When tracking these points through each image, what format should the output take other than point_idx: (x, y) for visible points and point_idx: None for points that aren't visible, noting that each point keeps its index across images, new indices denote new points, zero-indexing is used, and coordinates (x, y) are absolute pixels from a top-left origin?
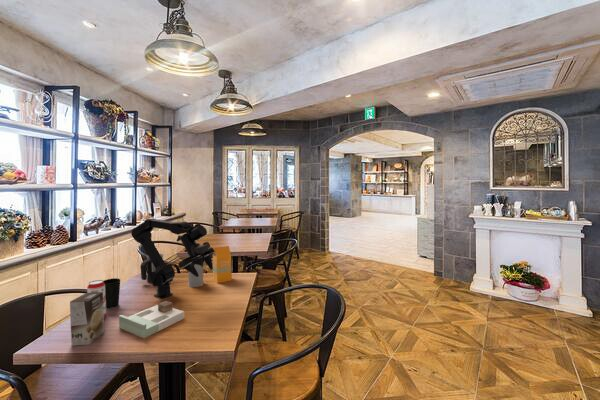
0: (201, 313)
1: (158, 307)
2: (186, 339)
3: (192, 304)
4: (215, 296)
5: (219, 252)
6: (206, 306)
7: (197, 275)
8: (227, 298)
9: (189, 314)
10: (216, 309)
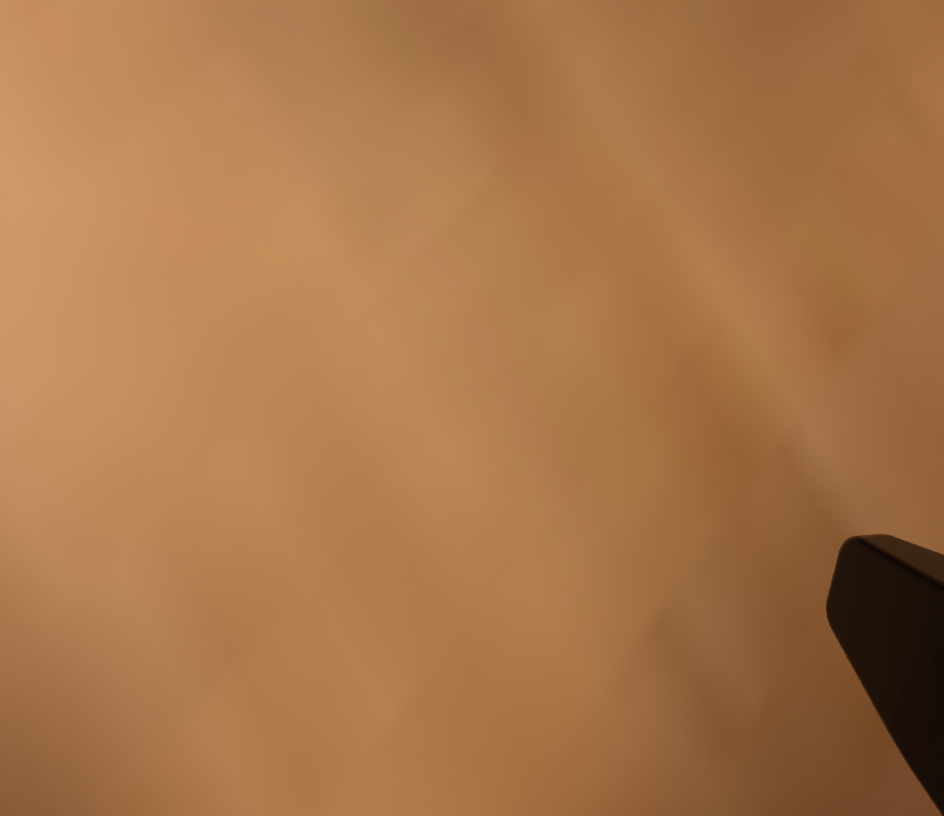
0: (768, 219)
1: None
2: None
3: (631, 640)
4: (130, 563)
5: None
6: (551, 351)
7: (924, 559)
8: (87, 279)
9: (894, 355)
10: (541, 118)
